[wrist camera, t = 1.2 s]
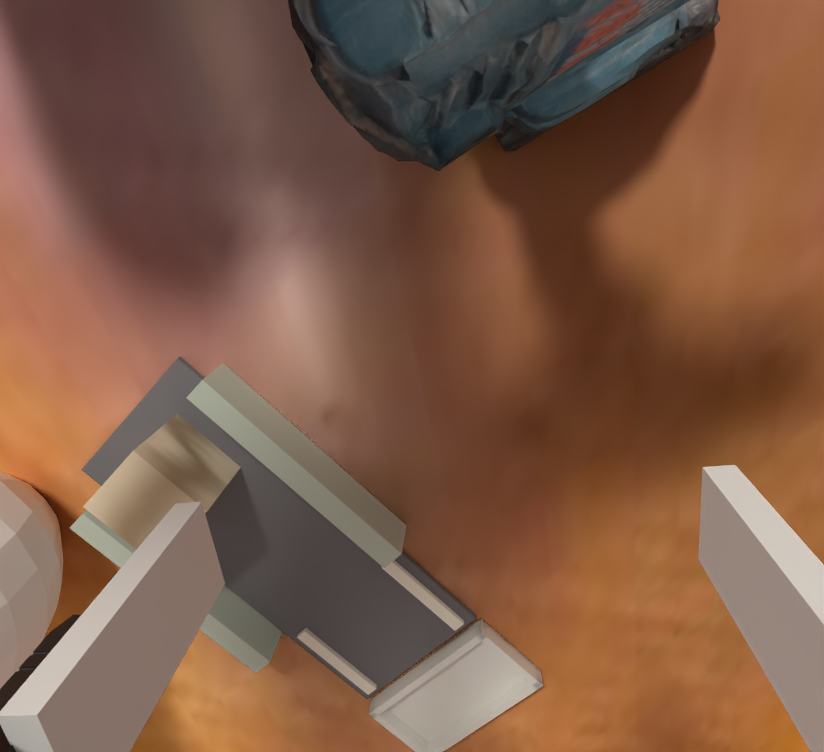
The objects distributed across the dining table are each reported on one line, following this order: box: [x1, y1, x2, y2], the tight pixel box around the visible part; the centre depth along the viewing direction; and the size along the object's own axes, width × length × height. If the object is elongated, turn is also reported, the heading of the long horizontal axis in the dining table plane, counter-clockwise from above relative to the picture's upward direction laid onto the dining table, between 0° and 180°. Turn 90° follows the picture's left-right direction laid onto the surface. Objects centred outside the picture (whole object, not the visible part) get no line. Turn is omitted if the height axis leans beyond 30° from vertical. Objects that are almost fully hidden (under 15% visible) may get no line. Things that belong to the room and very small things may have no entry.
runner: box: [82, 357, 476, 699], centre depth 46 cm, size 30×13×1 cm, turn 46°
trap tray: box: [369, 619, 543, 752], centre depth 48 cm, size 7×13×2 cm, turn 136°
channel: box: [70, 363, 407, 673], centre depth 44 cm, size 18×17×4 cm
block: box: [83, 413, 241, 549], centre depth 41 cm, size 6×6×6 cm
